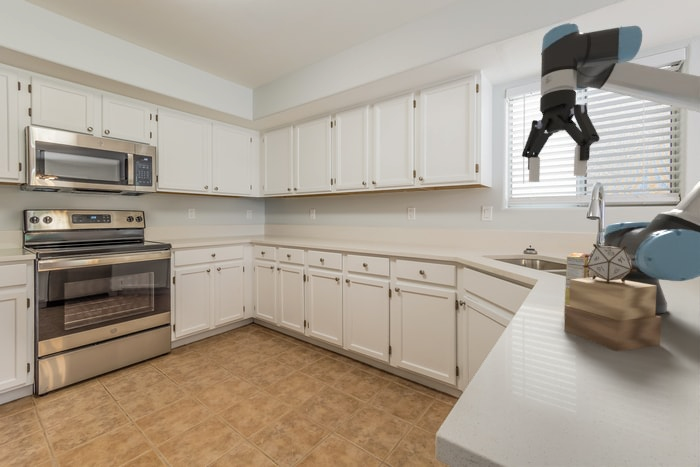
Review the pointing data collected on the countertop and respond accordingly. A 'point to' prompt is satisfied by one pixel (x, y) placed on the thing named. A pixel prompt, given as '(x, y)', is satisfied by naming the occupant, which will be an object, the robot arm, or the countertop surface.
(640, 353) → the countertop surface
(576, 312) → the bottom block
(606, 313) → the top block
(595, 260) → the game die
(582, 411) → the countertop surface
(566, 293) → the candy box
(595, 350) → the countertop surface
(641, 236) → the robot arm
